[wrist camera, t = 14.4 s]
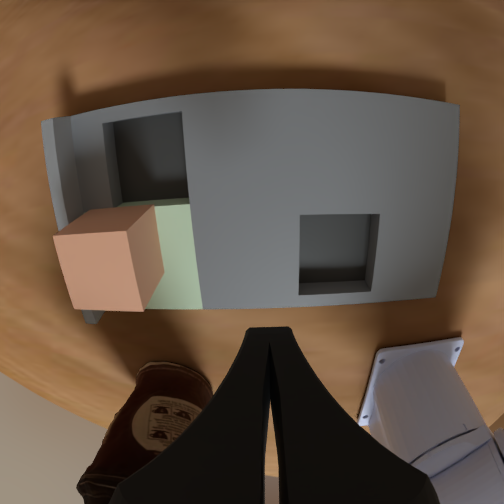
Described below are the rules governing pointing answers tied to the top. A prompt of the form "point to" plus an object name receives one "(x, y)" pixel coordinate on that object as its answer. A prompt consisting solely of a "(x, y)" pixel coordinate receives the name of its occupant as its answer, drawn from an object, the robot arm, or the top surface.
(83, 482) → the coffee cup
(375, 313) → the top surface
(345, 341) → the top surface
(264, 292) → the board
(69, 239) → the block
